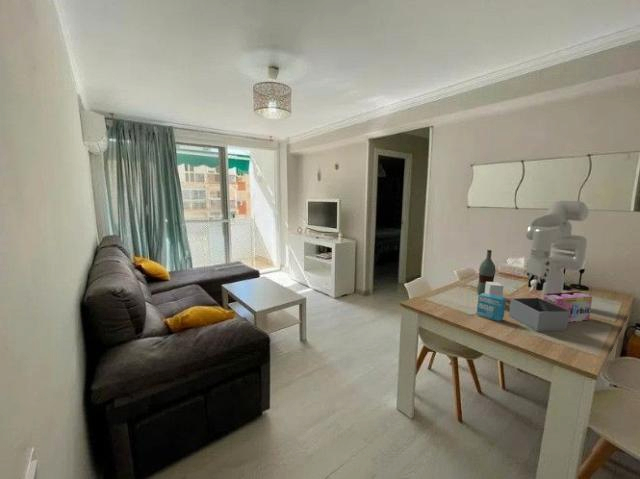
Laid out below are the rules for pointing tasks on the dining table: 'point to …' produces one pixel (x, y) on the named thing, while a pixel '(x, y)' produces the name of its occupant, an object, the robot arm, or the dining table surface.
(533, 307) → the carton
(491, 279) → the bottle
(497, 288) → the supplement box
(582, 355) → the dining table surface
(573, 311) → the gum box
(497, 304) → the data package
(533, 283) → the lid flap
